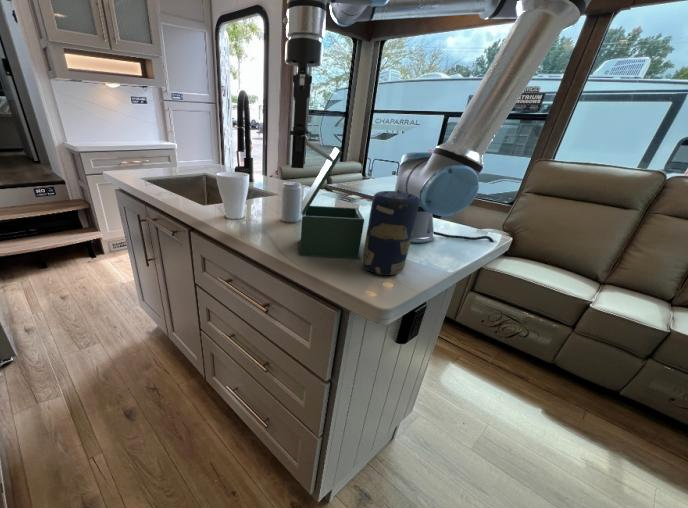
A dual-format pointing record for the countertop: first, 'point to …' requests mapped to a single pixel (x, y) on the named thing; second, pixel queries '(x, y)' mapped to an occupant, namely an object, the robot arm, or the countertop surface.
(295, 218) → the beverage can
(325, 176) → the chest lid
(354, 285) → the countertop surface
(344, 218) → the chest
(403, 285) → the countertop surface
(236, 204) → the cup
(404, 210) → the canister
